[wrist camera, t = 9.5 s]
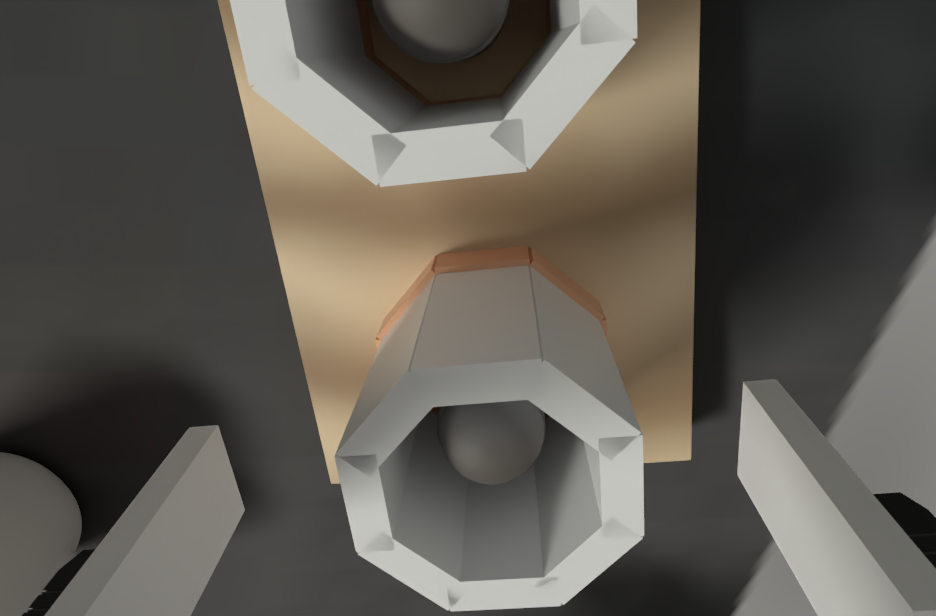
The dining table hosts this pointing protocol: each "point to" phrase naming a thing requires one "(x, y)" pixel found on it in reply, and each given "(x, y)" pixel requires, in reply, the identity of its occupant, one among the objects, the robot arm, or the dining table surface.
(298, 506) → the dining table surface
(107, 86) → the dining table surface
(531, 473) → the sleeve
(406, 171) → the sleeve seated
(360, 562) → the dining table surface
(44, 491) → the cup
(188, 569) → the robot arm
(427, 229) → the pin board
